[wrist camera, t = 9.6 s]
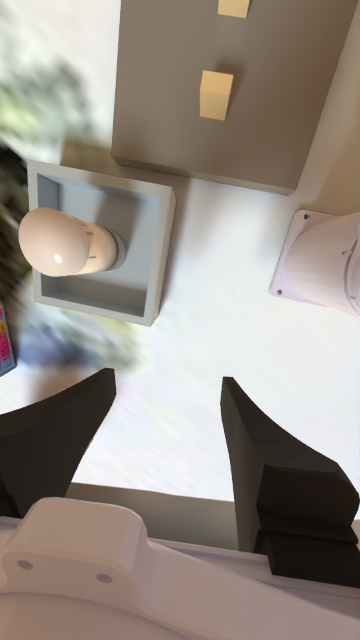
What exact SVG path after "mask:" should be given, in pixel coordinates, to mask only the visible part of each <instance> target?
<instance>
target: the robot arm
mask: <svg viewBox="0 0 360 640" xmlns="http://www.w3.org/2000/svg"><path fill="white" fill-rule="evenodd" d="M305 214H306V215H307V216H308V218H307V220H305V219H304V215H305ZM278 290H281V293H280V294H277V291H278ZM269 294H270V295H272V296H276V297H280V298H285V299H290V300H295V301H300V302H305V303H310V304H315V305H319V306H324V307H329V308H333V309H336V310H339V311H341V312H344V313H347V314H350V315H352V316H355V317H358V318H360V211H359V212H356V213H352V214H349V215H346V216H342V217H341V216H335V215H330V214H325V213H320V212H314V211H309V210H304V209H301V210H299V211H297V212H296V213H295V215H294V217H293V220H292V223H291V226H290V229H289V232H288V235H287V238H286V241H285V244H284V247H283V250H282V253H281V256H280V258H279V261H278V264H277V267H276V270H275V273H274V276H273V279H272V282H271V285H270V288H269ZM115 397H116V384H115V374H114V369H112V368H104V369H102V370H100V371H98V372H97V373H95V374H93V375H91V376H90V377H88V378H86V379H84V380H83V381H81V382H79V383H77V384H75V385H73V386H72V387H70V388H68V389H66V390H64V391H62V392H60V393H58V394H56V395H53V396H51V397H49V398H47V399H44V400H42V401H39V402H37V403H34V404H31V405H29V406H26V407H23V408H20V409H17V410H14V411H11V412H8V413H4V414H1V415H0V640H360V551H359V549H358V547H357V545H356V544H358V538H357V536H356V534H355V533H354V531H353V529H352V527H351V524H352V522H353V520H354V518H355V515H356V513H357V511H358V508H359V504H360V498H359V494H358V492H357V491H356V489H355V488H354V486H353V485H352V483H351V481H350V480H349V478H348V477H347V475H346V474H345V473H344V471H343V470H342V469H341V467H340V466H339V465H338V463H337V462H335V461H333V460H331V459H330V458H328V457H326V456H324V455H322V454H321V453H319V452H317V451H315V450H314V449H312V448H310V447H309V446H307V445H306V444H304V443H303V442H301V441H300V440H298V439H297V438H295V437H294V436H292V435H291V434H289V433H288V432H287V431H285V430H284V429H283V428H281V427H280V426H279V425H278V424H276V423H275V422H274V421H273V420H272V419H270V418H269V417H268V416H267V415H266V414H265V413H264V412H263V411H262V410H261V409H260V408H259V407H258V406H257V405H256V404H255V403H254V402H253V401H252V400H251V399H250V398H249V397H248V395H247V394H246V393H245V392H244V391H243V390H242V388H241V387H240V386H239V384H238V383H237V382H236V381H235V379H234V378H233V377H223V381H222V391H221V401H220V406H221V417H222V423H223V428H224V433H225V438H226V443H227V448H228V453H229V458H230V464H231V473H232V482H233V492H234V502H235V512H236V522H237V533H238V546H239V551H234V550H226V549H220V548H213V547H206V546H199V545H193V544H186V543H180V542H172V541H166V540H160V539H153V538H147V530H146V527H145V525H144V523H143V521H142V519H141V517H140V516H138V515H137V514H136V513H135V512H133V511H132V510H131V509H128V508H124V507H121V506H118V505H111V504H104V503H96V502H88V501H82V500H74V499H67V498H64V497H65V494H66V492H67V489H68V487H69V485H70V483H71V481H72V478H73V476H74V474H75V472H76V470H77V467H78V465H79V463H80V461H81V459H82V457H83V455H84V453H85V451H86V449H87V447H88V445H89V443H90V441H91V440H92V438H93V436H94V435H95V433H96V431H97V430H98V428H99V427H100V425H101V423H102V422H103V420H104V418H105V417H106V415H107V413H108V412H109V410H110V408H111V406H112V404H113V401H114V399H115Z"/></svg>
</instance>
